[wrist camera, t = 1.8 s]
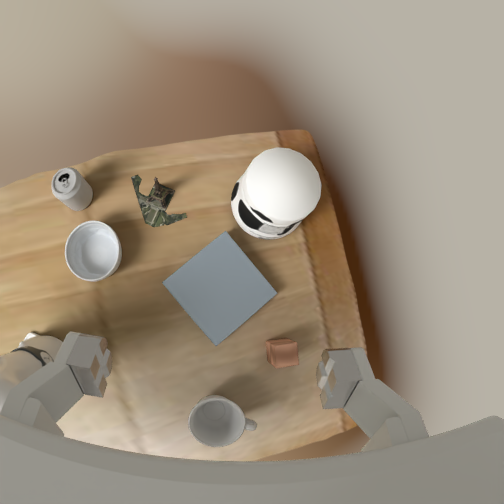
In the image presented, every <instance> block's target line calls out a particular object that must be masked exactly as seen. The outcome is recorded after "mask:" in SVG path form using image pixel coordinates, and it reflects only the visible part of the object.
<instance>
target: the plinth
mask: <svg viewBox="0 0 504 504" xmlns="http://www.w3.org/2000/svg"><path fill="white" fill-rule="evenodd" d="M162 283H163V284H164V286H165V287H166V288H167V289H168V290H169V292H170V293H171V294H172V295H173V297H174V298H175V299H176V300H177V301H178V303H179V304H180V305H181V306H182V307H183V309H184V310H185V311H186V312H187V313H188V315H189V316H190V317H191V318H192V319H193V321H194V322H195V323H196V324H197V325H198V326H199V327H200V329H201V330H202V331H203V332H204V333H205V334H206V336H207V337H208V338H209V339H210V340H211V341H212V342H213V343H214V345H215V346H217V345H218V344H219V343H221V342H222V341H223V340H224V339H225V338H227V337H228V336H229V335H230V334H231V333H232V332H234V331H235V330H236V329H237V328H238V327H239V326H240V325H242V324H243V323H244V322H245V321H246V320H247V319H249V318H250V317H251V316H252V315H253V314H254V313H255V312H257V311H258V310H259V309H260V308H261V307H262V306H263V305H265V304H266V303H267V302H268V301H269V300H270V299H271V298H272V297H274V296H275V295H276V294H277V292H276V291H275V290H274V288H273V287H272V286H271V285H270V284H269V282H268V281H267V280H266V279H265V278H264V276H263V275H262V274H261V273H260V272H259V270H258V269H257V268H256V267H255V266H254V264H253V263H252V262H251V261H250V260H249V258H248V257H247V256H246V255H245V254H244V252H243V251H242V250H241V249H240V248H239V246H238V245H237V244H236V243H235V242H234V240H233V239H232V238H231V237H230V236H229V234H228V233H227V232H226V231H225V232H224V233H222V234H221V235H220V236H219V237H217V238H216V239H215V240H214V241H212V242H211V243H210V244H209V245H207V246H206V247H205V248H204V249H202V250H201V251H200V252H199V253H198V254H196V255H195V256H194V257H193V258H191V259H190V260H189V261H188V262H186V263H185V264H184V265H183V266H182V267H180V268H179V269H178V270H177V271H176V272H174V273H173V274H172V275H171V276H169V277H168V278H167V279H166V280H165V281H163V282H162Z"/></svg>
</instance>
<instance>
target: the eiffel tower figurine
mask: <svg viewBox="0 0 504 504" xmlns="http://www.w3.org/2000/svg"><path fill="white" fill-rule="evenodd" d="M131 179H132V182H133V185H134V189H135V192H136V195H137V198H138V201H139V204H140V208H141V211H142V214H143V217H144V220H145V223H146V224H149V225H151V226H152V227H158V226H161V225H164V224H165V225H169V224H172V223H174V222H176V221H179V220H181V219H184V218H187V216H186V213H183V214H172V215H167V213H166V212H165V211H166V209H167V207H168V205H169V203H170V201H171V198H172V196H173V194H174V192H175V190H172V189H170V188H168V187H165V186H163V185H160V184H159V182H158V180H157V179H158V178H156V177H155V179H154V180H155V184H154V186H153V188H152V190H151V192H150V194H149V196H145V195H142V194H141V193H140V192H139V185H140V183H141V180H142V179H141V178H140V177H139V176H138V175H136V176H133V177H131ZM164 210H165V211H164Z"/></svg>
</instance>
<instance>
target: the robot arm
mask: <svg viewBox="0 0 504 504" xmlns="http://www.w3.org/2000/svg"><path fill="white" fill-rule="evenodd" d="M107 345H108V343H107V340H106V338H105V337H100V336H94V335H88V334H83V333H77V332H71V331H70V332H69V333H68V334H67V335H66V337H65V339H64V341H63V342H62V341H61V340H59V339H57V338H55V337H52V336H40V335H38V334H36V333H33V332H30V333H28V334H27V336H26V338H25V339H24V341H22V342H20V345H19V347H18V348H16V349H15V350H13V351H12V352H10V353H8V354H4V355H1V356H0V504H504V420H503V419H502V418H499V417H498V416H490V417H487V418H484V419H482V420H479V421H477V422H474V423H471V424H468V425H466V426H463V427H460V428H457V429H454V430H451V431H448V432H445V433H441V434H438V435H435V436H431V437H429V435H428V433H427V430H426V427H425V425H424V422H423V420H422V417H421V415H420V412H419V411H418V410H416V409H415V408H414V407H413V406H412V405H410V404H409V403H408V402H407V401H405V400H404V399H403V398H402V397H400V396H399V395H398V394H397V393H395V392H394V391H393V390H391V389H390V388H389V387H388V386H387V385H385V384H384V383H383V382H382V381H380V380H379V379H375V377H374V374H373V372H372V369H371V367H370V364H369V361H368V359H367V356H366V354H365V351H364V349H363V348H362V347H361V348H338V349H325V350H324V351H323V353H322V359H323V360H322V361H321V362H320V363H319V364H318V367H317V372H316V379H317V385H318V387H319V388H321V389H322V391H321V394H320V398H321V403H322V407H323V409H334V408H343V409H344V410H345V411H346V412H347V414H348V415H349V416H350V417H351V418H352V419H353V420H354V421H355V422H356V423H357V425H358V426H359V427H360V428H361V429H362V430H363V431H364V432H365V433H366V434H367V435H368V437H369V438H370V440H369V441H368V442H367V443H366V445H365V446H364V447H363V448H362V449H361V451H362V452H359V453H352V454H346V455H339V456H332V457H323V458H313V459H301V460H286V461H256V462H237V461H208V460H193V459H181V458H171V457H163V456H155V455H148V454H141V453H135V452H129V451H123V450H118V449H113V448H108V447H103V446H98V445H94V444H90V443H86V442H82V441H78V440H74V439H70V438H66V437H64V433H63V431H62V430H61V429H60V427H59V426H58V425H57V424H56V422H57V421H58V420H59V419H60V418H61V417H62V416H63V415H64V414H65V413H66V412H67V411H68V410H69V409H70V408H71V407H72V406H73V405H74V404H75V403H76V402H77V401H78V400H79V399H81V398H82V397H83V396H84V395H83V394H85V395H91V396H97V397H103V396H104V393H105V389H106V386H107V382H106V380H105V378H106V377H108V376H109V375H110V373H111V369H112V355H111V352H110V351H109V350H108V349H107Z"/></svg>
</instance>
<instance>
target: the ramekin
mask: <svg viewBox="0 0 504 504" xmlns="http://www.w3.org/2000/svg"><path fill="white" fill-rule="evenodd" d="M65 258H66V262H67V265H68V267H69V268H70V270H71V271H72V272H73V274H75V275H76V276H77V277H79V278H80V279H83V280H86V281H99V280H102V279H104V278H107V277H109V276H110V275H112V274H113V273H114V272H115V271H116V270H117V268H118V266H119V265H120V262H121V258H122V249H121V245H120V242H119V239H118V236H117V234H116V233H115V231H114V230H113V229H112V228H111V227H110V226H109V225H107V224H105V223H103V222H100V221H87V222H84V223H82V224H80V225H79V226H77V227H76V228H75V229H74V230H73V231H72V232H71V234H70V235H69V237H68V239H67V242H66V246H65Z"/></svg>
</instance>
